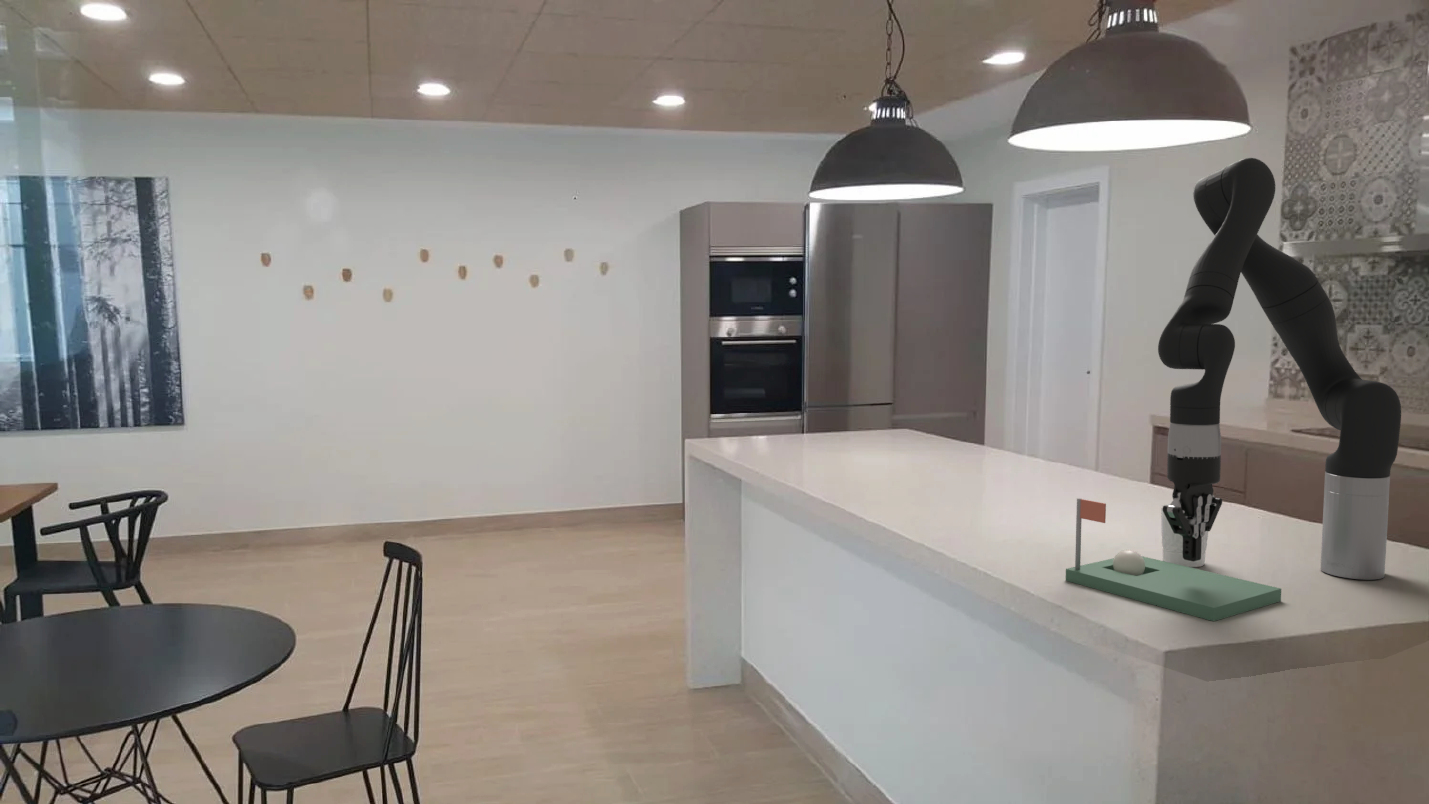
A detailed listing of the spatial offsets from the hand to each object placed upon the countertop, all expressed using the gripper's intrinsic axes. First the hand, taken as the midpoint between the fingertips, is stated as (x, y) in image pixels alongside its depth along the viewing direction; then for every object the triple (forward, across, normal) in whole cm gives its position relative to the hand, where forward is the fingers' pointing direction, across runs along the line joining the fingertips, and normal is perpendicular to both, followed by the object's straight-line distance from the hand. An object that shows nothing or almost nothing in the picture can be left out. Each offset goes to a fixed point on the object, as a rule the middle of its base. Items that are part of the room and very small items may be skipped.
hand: (1191, 559), depth 154 cm
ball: (+3, 0, -11) cm, 11 cm away
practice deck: (+6, 0, -4) cm, 7 cm away
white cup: (+6, -18, -12) cm, 23 cm away
